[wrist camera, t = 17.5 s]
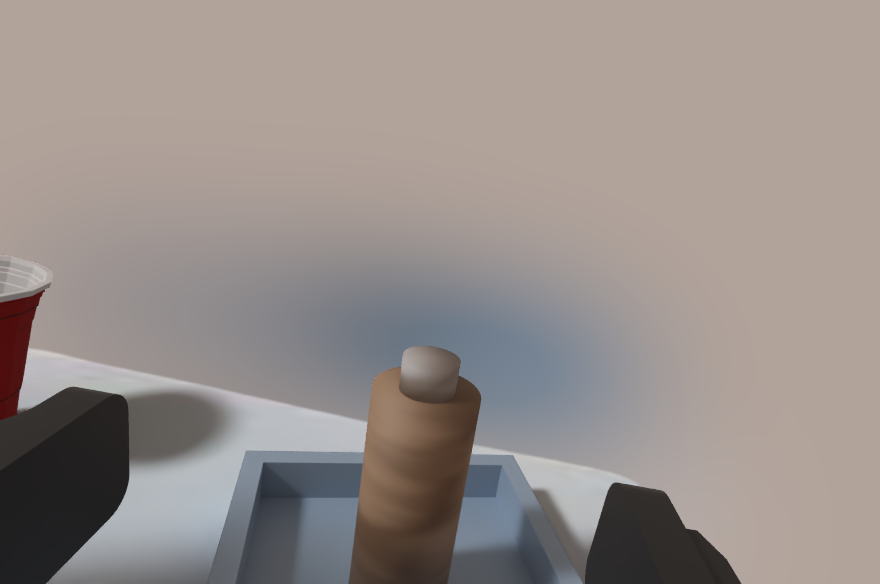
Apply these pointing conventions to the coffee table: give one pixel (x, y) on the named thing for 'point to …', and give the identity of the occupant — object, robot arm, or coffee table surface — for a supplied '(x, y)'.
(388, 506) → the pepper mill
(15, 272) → the plastic cup
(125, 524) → the coffee table surface
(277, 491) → the bin
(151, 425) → the coffee table surface
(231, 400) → the coffee table surface
